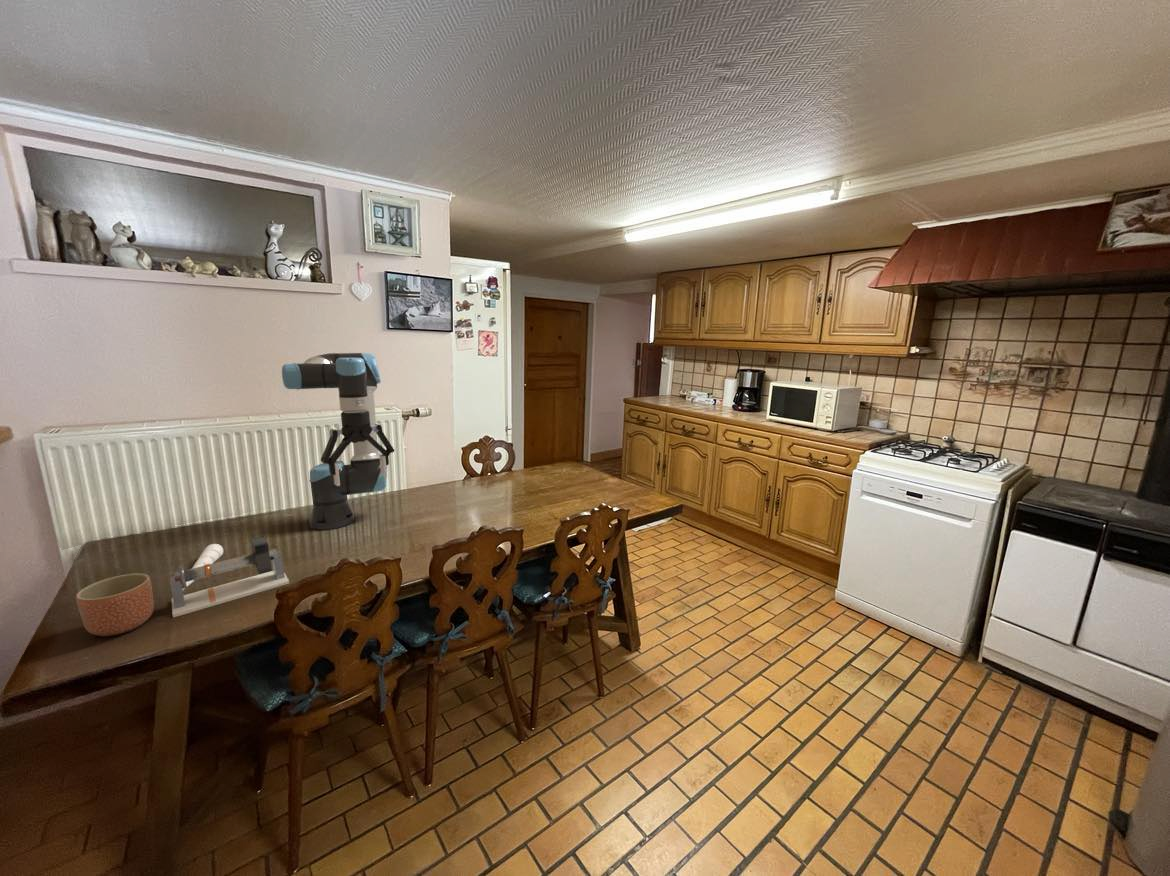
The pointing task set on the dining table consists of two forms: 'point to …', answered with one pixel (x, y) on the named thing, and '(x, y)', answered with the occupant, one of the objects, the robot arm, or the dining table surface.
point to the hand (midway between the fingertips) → (361, 480)
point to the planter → (116, 604)
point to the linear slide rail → (211, 569)
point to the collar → (261, 555)
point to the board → (228, 592)
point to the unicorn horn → (208, 557)
